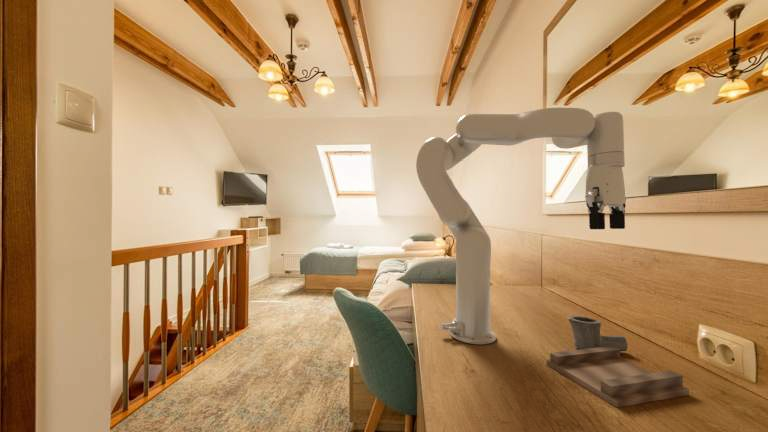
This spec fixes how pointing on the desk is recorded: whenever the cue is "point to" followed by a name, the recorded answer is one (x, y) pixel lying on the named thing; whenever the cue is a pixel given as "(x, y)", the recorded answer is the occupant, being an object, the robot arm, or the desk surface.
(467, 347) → the desk surface
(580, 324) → the pipe
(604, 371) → the cradle
